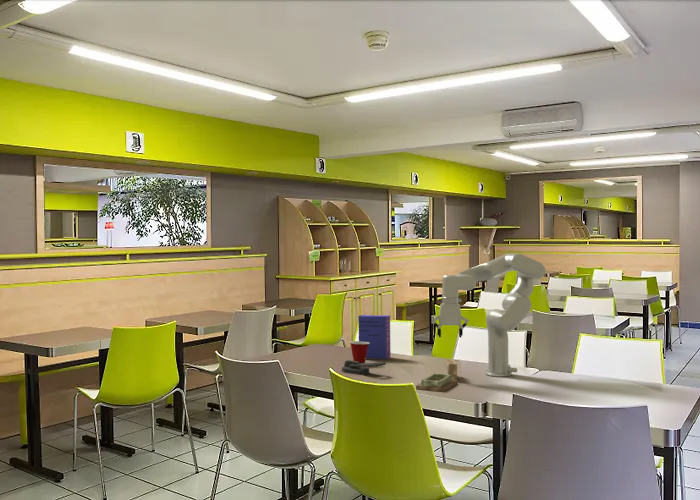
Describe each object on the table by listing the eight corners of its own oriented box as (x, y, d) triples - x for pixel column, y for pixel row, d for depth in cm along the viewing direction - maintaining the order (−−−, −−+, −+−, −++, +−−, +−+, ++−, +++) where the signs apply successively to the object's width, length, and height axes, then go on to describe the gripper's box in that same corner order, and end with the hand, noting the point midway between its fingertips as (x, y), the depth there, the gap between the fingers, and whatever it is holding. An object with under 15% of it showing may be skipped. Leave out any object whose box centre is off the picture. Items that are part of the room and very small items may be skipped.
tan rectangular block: (454, 375, 305) (454, 359, 305) (457, 381, 293) (457, 364, 293) (445, 375, 305) (445, 359, 305) (448, 381, 293) (448, 364, 293)
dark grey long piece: (375, 364, 301) (339, 358, 318) (375, 378, 301) (339, 371, 319) (387, 362, 307) (351, 356, 325) (388, 375, 307) (351, 369, 325)
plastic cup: (374, 363, 338) (373, 341, 337) (358, 366, 331) (358, 343, 331) (360, 361, 346) (360, 339, 346) (345, 363, 339) (345, 341, 339)
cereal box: (390, 357, 356) (390, 315, 356) (389, 359, 352) (389, 316, 351) (360, 357, 359) (359, 315, 359) (358, 358, 354) (358, 316, 354)
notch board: (457, 383, 288) (456, 374, 288) (444, 391, 272) (444, 382, 272) (430, 381, 294) (430, 372, 294) (416, 389, 278) (415, 380, 278)
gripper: (467, 300, 302) (467, 336, 302) (431, 300, 303) (431, 335, 303) (469, 301, 295) (469, 338, 295) (432, 301, 296) (432, 338, 296)
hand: (449, 337), depth 299 cm, fingers open, 9 cm apart
